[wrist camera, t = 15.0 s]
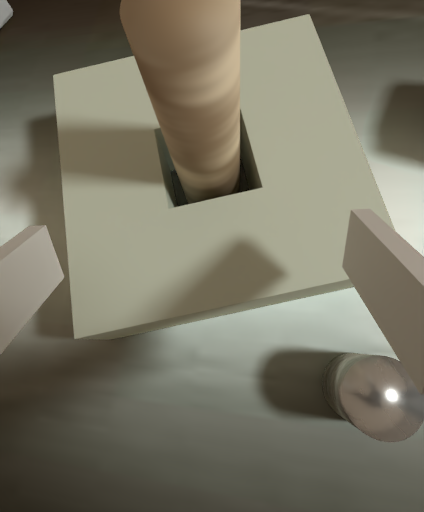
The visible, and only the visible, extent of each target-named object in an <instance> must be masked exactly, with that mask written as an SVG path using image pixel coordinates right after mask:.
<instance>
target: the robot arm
mask: <svg viewBox="0 0 424 512" xmlns="http://www.w3.org/2000/svg"><path fill="white" fill-rule="evenodd" d="M342 267H343V269H344V271H345V272H346V274H347V276H348V277H349V279H350V280H351V282H352V284H353V285H354V287H355V289H356V290H357V292H358V293H359V295H360V297H361V298H362V300H363V302H364V303H365V305H366V307H367V308H368V310H369V311H370V313H371V315H372V316H373V318H374V320H375V321H376V323H377V324H378V326H379V328H380V329H381V331H382V333H383V334H384V336H385V337H386V339H387V341H388V342H389V344H390V346H391V347H392V349H393V351H394V352H395V354H396V355H397V357H398V359H399V360H400V362H401V364H402V365H403V367H404V368H405V370H406V372H407V373H408V375H409V377H410V378H411V380H412V381H413V383H414V385H415V386H416V388H417V390H418V391H419V393H420V394H424V257H423V256H422V255H421V254H420V253H419V252H418V251H417V250H415V249H414V248H413V247H412V246H411V245H410V244H409V243H408V242H407V241H405V240H404V239H403V238H402V237H401V236H400V235H399V234H398V233H397V232H395V231H394V230H393V229H392V228H391V227H390V226H389V225H388V224H387V223H385V222H384V221H383V220H382V219H381V218H380V217H379V216H378V215H377V214H375V213H374V212H373V211H372V210H371V209H352V210H351V212H350V218H349V225H348V231H347V238H346V244H345V251H344V257H343V264H342ZM63 278H64V274H63V272H62V269H61V266H60V263H59V260H58V258H57V255H56V252H55V249H54V247H53V244H52V241H51V238H50V235H49V233H48V230H47V227H46V225H37V226H28V227H27V228H26V229H24V230H23V231H22V232H20V233H19V234H18V235H16V236H15V237H13V238H12V239H11V240H9V241H8V242H7V243H5V244H4V245H3V246H1V247H0V355H1V353H2V352H3V351H4V350H5V348H6V347H7V346H8V345H9V344H10V342H11V341H12V340H13V339H14V338H15V336H16V335H17V334H18V333H19V332H20V330H21V329H22V328H23V327H24V326H25V324H26V323H27V322H28V321H29V319H30V318H31V317H32V316H33V315H34V313H35V312H36V311H37V310H38V309H39V307H40V306H41V305H42V304H43V303H44V301H45V300H46V299H47V298H48V297H49V295H50V294H51V293H52V292H53V291H54V289H55V288H56V287H57V286H58V284H59V283H60V282H61V281H62V280H63Z"/></svg>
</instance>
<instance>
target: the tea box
mask: <svg viewBox="0 0 424 512" xmlns="http://www.w3.org/2000/svg"><path fill="white" fill-rule="evenodd" d="M12 13H13V10H12V8H11V7H10V5H9V4H8V2H7V1H6V0H0V28H1V27H2V26H3V25H4V24H5V23H6V22H7V21H8V20H9V19H10V17H11V16H12V15H13V14H12Z"/></svg>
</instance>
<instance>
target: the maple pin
mask: <svg viewBox="0 0 424 512" xmlns="http://www.w3.org/2000/svg"><path fill="white" fill-rule="evenodd" d="M120 18H121V22H122V25H123V27H124V30H125V33H126V35H127V38H128V41H129V44H130V46H131V49H132V52H133V55H134V57H135V60H136V63H137V65H138V68H139V71H140V74H141V76H142V79H143V82H144V85H145V87H146V90H147V93H148V95H149V98H150V101H151V104H152V106H153V109H154V112H155V115H156V117H157V120H158V123H159V126H160V128H161V131H162V134H163V136H164V139H165V142H166V145H167V147H168V150H169V153H170V156H171V158H172V161H173V164H174V166H175V169H176V172H177V175H178V177H179V180H180V183H181V186H182V188H183V191H184V194H185V196H186V199H187V202H188V204H192V203H196V202H201V201H205V200H210V199H214V198H218V197H223V196H227V195H232V194H236V193H240V0H122V1H121V5H120Z"/></svg>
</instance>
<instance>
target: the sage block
mask: <svg viewBox="0 0 424 512" xmlns="http://www.w3.org/2000/svg"><path fill="white" fill-rule="evenodd" d="M53 79H54V91H55V104H56V117H57V129H58V142H59V154H60V167H61V179H62V192H63V204H64V217H65V229H66V242H67V254H68V267H69V279H70V292H71V305H72V317H73V330H74V339H98V340H112V339H117V338H121V337H126V336H130V335H135V334H140V333H144V332H149V331H153V330H158V329H163V328H167V327H172V326H176V325H181V324H186V323H190V322H195V321H199V320H204V319H209V318H213V317H218V316H222V315H227V314H232V313H236V312H241V311H245V310H250V309H255V308H259V307H264V306H268V305H273V304H278V303H282V302H287V301H291V300H296V299H301V298H305V297H310V296H314V295H319V294H324V293H328V292H333V291H337V290H342V289H347V288H351V287H354V285H353V284H352V282H351V280H350V279H349V277H348V276H347V274H346V272H345V271H344V269H343V267H342V264H343V257H344V251H345V244H346V238H347V231H348V225H349V218H350V212H351V210H352V209H371V210H372V211H373V212H374V213H375V214H377V215H378V216H379V217H380V218H381V219H382V220H383V221H384V222H385V223H387V224H388V225H389V226H390V227H391V228H392V229H393V230H394V231H395V229H394V227H393V224H392V222H391V219H390V216H389V214H388V211H387V209H386V206H385V204H384V201H383V199H382V196H381V194H380V191H379V189H378V186H377V184H376V181H375V179H374V176H373V174H372V171H371V169H370V166H369V164H368V161H367V158H366V156H365V153H364V151H363V148H362V146H361V143H360V141H359V138H358V136H357V133H356V131H355V128H354V126H353V123H352V121H351V118H350V116H349V113H348V111H347V108H346V106H345V103H344V100H343V98H342V95H341V93H340V90H339V88H338V85H337V83H336V80H335V78H334V75H333V73H332V70H331V68H330V65H329V63H328V60H327V58H326V55H325V53H324V50H323V48H322V45H321V42H320V40H319V37H318V35H317V32H316V30H315V27H314V25H313V22H312V20H311V17H310V15H309V14H308V15H304V16H300V17H295V18H291V19H287V20H283V21H279V22H274V23H270V24H266V25H262V26H258V27H253V28H249V29H245V30H241V31H240V156H241V160H242V164H243V167H244V171H245V175H246V179H247V182H248V186H249V191H245V192H241V193H236V194H232V195H227V196H223V197H218V198H214V199H210V200H205V201H201V202H196V203H192V204H188V205H183V206H179V207H177V202H176V197H175V192H174V187H173V181H172V176H171V171H172V170H176V169H175V166H174V164H173V161H172V158H171V156H170V153H169V150H168V147H167V145H166V142H165V139H164V136H163V134H162V131H161V128H160V126H159V123H158V120H157V117H156V115H155V112H154V109H153V106H152V104H151V101H150V98H149V95H148V93H147V90H146V87H145V85H144V82H143V79H142V76H141V74H140V71H139V68H138V65H137V63H136V60H135V57H134V56H132V57H127V58H123V59H119V60H115V61H111V62H106V63H102V64H98V65H94V66H90V67H85V68H81V69H77V70H73V71H69V72H64V73H60V74H56V75H53Z"/></svg>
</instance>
